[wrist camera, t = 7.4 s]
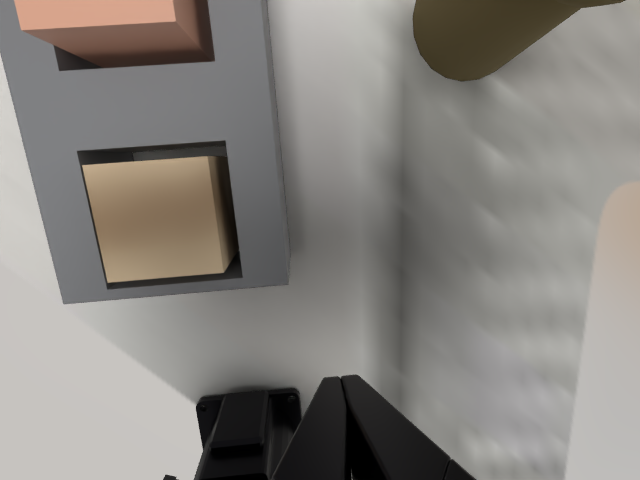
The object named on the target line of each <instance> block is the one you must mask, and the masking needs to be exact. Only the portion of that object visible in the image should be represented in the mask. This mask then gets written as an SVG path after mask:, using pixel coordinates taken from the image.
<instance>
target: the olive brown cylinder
mask: <svg viewBox="0 0 640 480" xmlns="http://www.w3.org/2000/svg"><path fill="white" fill-rule="evenodd" d="M623 1H625V0H416V4H415V9H414V13H413V29H414V38H415V41H416V44H417V46H418V49H419V52H420V54H421V56H422V57H423V58H424V60H425V61H426V62H427V63H428V65H429V66H430V67H431V68H432V69H433V70H435V71H436V72H438V73H439V74H441V75H442V76H444V77H446V78H450V79H454V80H458V81H469V80H477V79H480V78H483V77H485V76H487V75H489V74H491V73H493V72H495V71H496V70H498V69H499V68H500V67H502V66H503V65H504V64H506V63H507V62H509V61H510V60H511V59H513V58H514V57H515V56H517V55H518V54H519V53H521V52H522V51H524V50H525V49H526V48H528V47H529V46H530V45H532V44H533V43H534V42H536V41H537V40H539V39H540V38H541V37H543V36H544V35H545V34H547V33H548V32H549V31H551V30H552V29H554V28H555V27H556V26H558V25H559V24H560V23H562V22H563V21H564V20H566V19H567V18H569V17H570V16H571V15H573V14H574V13H575V12H577V11H578V10H579V9H581V8H586V7H594V6H602V5H609V4H615V3H621V2H623Z"/></svg>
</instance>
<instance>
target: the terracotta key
mask: <svg viewBox="0 0 640 480" xmlns="http://www.w3.org/2000/svg"><path fill="white" fill-rule="evenodd" d="M14 2H15V6H16V11H17V15H18V19H19V23H20V27H21V30H22V31H24V32H26V33H28V34H30V35H33V36H35V37H37V38H39V39H41V40H44V41H46V42H48V43H50V44H52V45H54V46H57V47H59V48H61V49H63V50H65V51H68V52H70V53H72V54H74V55H76V56H79V57H81V58H83V59H85V60H87V61H89V62H92V63H94V64H96V65H98V66H100V67H103V68H117V67H134V66H150V65H166V64H182V63H198V62H214V61H215V56H214V48H213V40H212V32H211V24H210V16H209V9H208V1H207V0H14Z"/></svg>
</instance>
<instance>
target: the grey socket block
mask: <svg viewBox="0 0 640 480" xmlns="http://www.w3.org/2000/svg"><path fill="white" fill-rule="evenodd" d="M208 7H209V15H210V22H211V30H212V38H213V46H214V54H215V61H214V62H198V63H182V64H166V65H150V66H134V67H117V68H103V67H100V66H98V65H96V64H94V63H92V62H89V61H87V60H85V59H83V58H81V57H79V56H76V55H74V54H72V53H70V52H68V51H65V50H63V49H61V48H59V47H57V46H54V45H52V44H50V43H48V42H46V41H44V40H41V39H39V38H37V37H35V36H33V35H30V34H28V33H26V32H24V31H22V30H21V27H20V23H19V19H18V15H17V11H16V6H15V2H14V0H0V53H1V57H2V61H3V65H4V69H5V73H6V77H7V81H8V85H9V89H10V93H11V97H12V101H13V105H14V109H15V113H16V117H17V121H18V125H19V129H20V133H21V137H22V141H23V145H24V149H25V153H26V157H27V161H28V165H29V169H30V173H31V177H32V181H33V185H34V189H35V193H36V197H37V201H38V205H39V208H40V212H41V216H42V220H43V224H44V228H45V232H46V236H47V240H48V244H49V248H50V252H51V256H52V260H53V264H54V268H55V272H56V276H57V280H58V284H59V288H60V292H61V296H62V300H63V304H73V303H84V302H95V301H107V300H118V299H129V298H141V297H152V296H164V295H175V294H186V293H198V292H209V291H220V290H232V289H243V288H255V287H266V286H277V285H288V282H289V269H290V257H291V254H290V244H289V233H288V222H287V211H286V201H285V190H284V179H283V169H282V158H281V147H280V137H279V126H278V115H277V105H276V94H275V83H274V73H273V62H272V51H271V41H270V30H269V19H268V9H267V0H208ZM214 146H226V148H227V156H228V164H229V172H230V180H231V188H232V196H233V204H234V211H235V219H236V227H237V235H238V243H239V252H237V253H236V255H235V256H234V258H233V259H232V261H231V262H230V264H229V265H228V267H227V268H226V270H225V272H224V273H215V274H203V275H191V276H180V277H168V278H156V279H145V280H133V281H122V282H110V283H108V282H107V277H106V273H105V268H104V263H103V259H102V254H101V250H100V245H99V240H98V236H97V231H96V227H95V222H94V218H93V213H92V208H91V204H90V199H89V195H88V190H87V186H86V181H85V176H84V172H83V167H82V165H93V164H107V163H120V162H134V160H133V155H132V152H145V151H159V150H173V149H186V148H200V147H214Z"/></svg>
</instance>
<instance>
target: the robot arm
mask: <svg viewBox="0 0 640 480" xmlns="http://www.w3.org/2000/svg"><path fill="white" fill-rule="evenodd" d="M289 396H294V397H295V398H293V399H290V398H289ZM202 405H207V406H208V407H203V406H202ZM196 412H197V418H198V423H199V429H200V435H201V440H202V446H203V453H202V456H201V459H200V462H199V466H198V469H197V471H196V475H195V478H194V480H352V479H353V480H476V479H475V478H474V477H473V476H471V475H470V474H469V473H468V472H467V471H466V470H464V469H463V468H462V467H461V466H460V465H459V464H458V463H457V462H455V461H454V460H453V459H451V458H450V456H449V455H447V454H446V453H445V452H444V451H443V450H442V449H441V448H440V447H438V446H437V445H436V444H435V443H434V442H433V441H432V440H431V439H429V438H428V437H427V436H426V435H425V434H424V433H423V432H422V431H420V430H419V429H418V428H417V427H416V426H415V425H414V424H413V423H411V422H410V421H409V420H408V419H407V418H406V417H405V416H404V415H402V414H401V413H400V412H399V411H398V410H397V409H396V408H395V407H393V406H392V405H391V404H390V403H389V402H388V401H387V400H386V399H384V398H383V397H382V396H381V395H380V394H379V393H378V392H377V391H375V390H374V389H373V388H372V387H371V386H370V385H369V384H368V383H366V382H365V381H364V380H363V379H362V378H361V377H360V376H358V375H346V376H342V377H341V379H340V377H338V376H336V377H325V378H323V380H322V381H321V383H320V385H319V387H318V389H317V391H316V393H315V395H314V397H313V399H312V401H311V403H310V404H309V406H308V408H307V410H306V412H305V414H304V416H303V418H302V414H301V404H300V394H299V392H298V391H297V390H296V389H281V390H271V391H254V392H244V393H234V394H227V395H221V396H211V397H203V398H201V399H200V400H199V401H198V403H197V406H196ZM351 473H352V477H351ZM163 480H177V479H176V477H174V476H170V475H165V477H164V479H163Z"/></svg>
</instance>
